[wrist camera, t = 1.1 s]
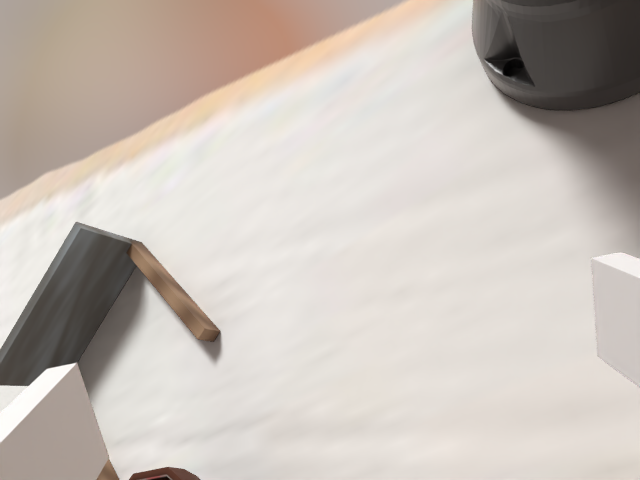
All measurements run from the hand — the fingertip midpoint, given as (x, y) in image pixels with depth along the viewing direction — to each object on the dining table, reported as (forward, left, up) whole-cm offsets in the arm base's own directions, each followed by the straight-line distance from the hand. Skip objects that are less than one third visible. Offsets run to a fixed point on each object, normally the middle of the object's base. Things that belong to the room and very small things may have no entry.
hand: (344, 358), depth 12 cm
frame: (0, -38, -22) cm, 44 cm away
